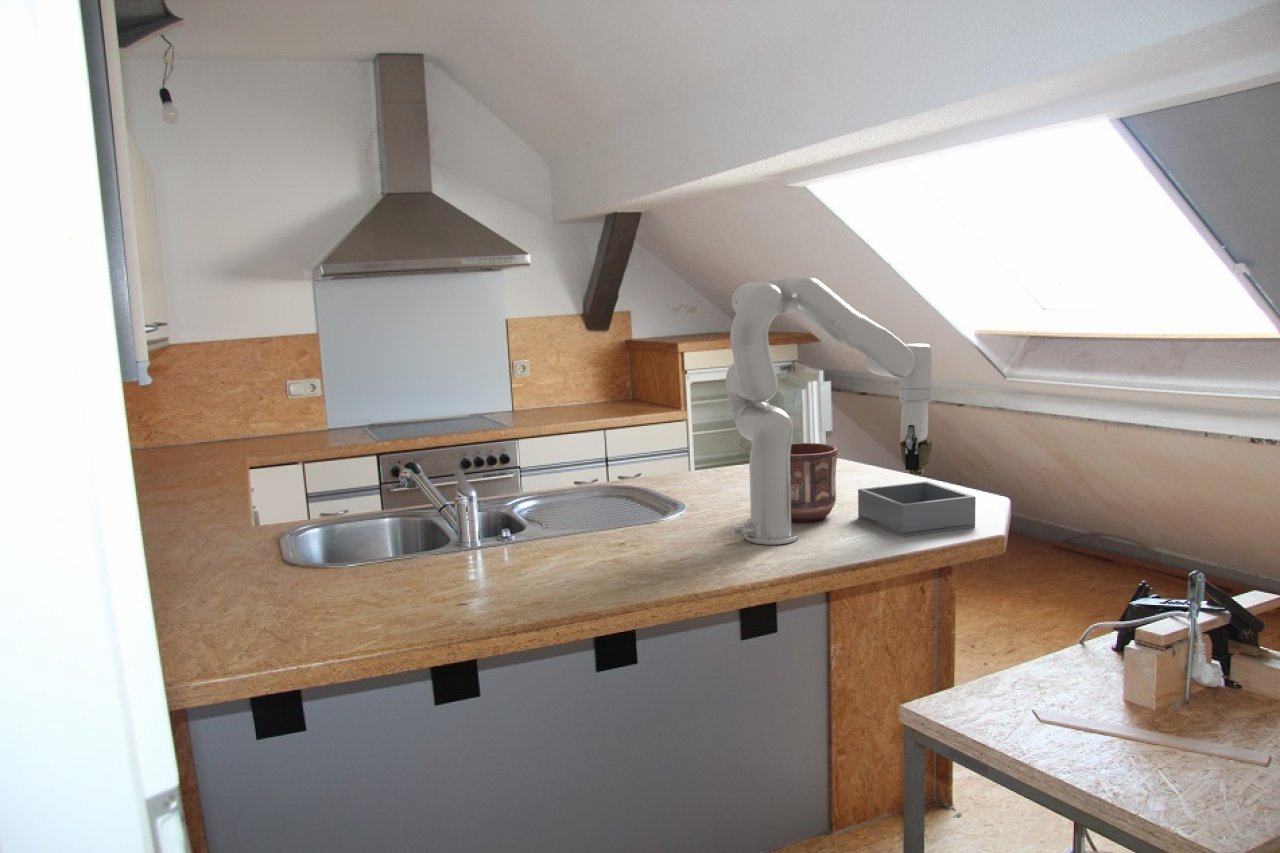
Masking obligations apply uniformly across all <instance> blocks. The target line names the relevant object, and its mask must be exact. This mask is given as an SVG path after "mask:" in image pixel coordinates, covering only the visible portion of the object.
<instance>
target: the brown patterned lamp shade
mask: <svg viewBox="0 0 1280 853" xmlns="http://www.w3.org/2000/svg"><path fill="white" fill-rule="evenodd" d="M899 443H900V452H901V453H900V454H901V460H902V462H903V465H905V454H906V441H905V442H901V441H899ZM932 445H933V441H932V440H930V441H929V443H928V440H927V439H925V441H924V442H923V443H922V442H920V443H919V447H918V454H919V470H918V471H914V470H907V472H908V473H909V474H910V475H913V476H914V475H921V474H923V473H924V472H925V471H924V467H926V466H927V465H928V464H929V462H930V459H931V452H932ZM914 446H915V445H914Z"/></svg>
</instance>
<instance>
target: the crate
mask: <svg viewBox="0 0 1280 853" xmlns="http://www.w3.org/2000/svg"><path fill="white" fill-rule="evenodd" d="M857 494H858V495H857V504H858V505H857V509H858V510H857V518H858V519H860V520H861V521H864V522H867V523H868V524H872V525H873V526H876V527H878V528H881V529H883V530H885V531H888V532H891V533H893V534H896V535H898V536H899V537H902V538H903V537H911V536H912V537H913V536H920V535H926V534H934V533H941V532H949V531H955V530H956V531H957V530H965V529H972V528H976V496H974V495H971V494H969V493H965V492H963V491H958V490H955V489H952V488H949V487H945V486H943V485H939V484H937V483H933V482H930V481H926V480H925V481H918V482H909V483H901V484H891V485H884V486H875V487H865V488H858V489H857Z"/></svg>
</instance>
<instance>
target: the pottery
mask: <svg viewBox="0 0 1280 853" xmlns="http://www.w3.org/2000/svg"><path fill="white" fill-rule="evenodd" d="M838 451H839V449H838V448H837V447H836V446H834V445H831V444H825V443H817V442H796V443H795V442H792V445H791V454H790V473H791V523H798V524H799V523H803V524H804V523H815V522H819V521H822V520H824V519H825V518H827V516H828V515H830V513H831V512H832V510H833V509H834V506H835V504H836V500H837V485H836V483H837V482H836V476H837V475H836V474H837V463H838V462H837V460H838Z"/></svg>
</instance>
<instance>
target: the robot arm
mask: <svg viewBox="0 0 1280 853" xmlns="http://www.w3.org/2000/svg"><path fill="white" fill-rule="evenodd" d="M731 301H732V302H731V304H732V308H733V310H734V312H735V313H736V314H735V315H734V318H733V321H732V323H731V328H730V333H729V334H730V336H729V338H730V345H731V350H732V357H733V361H734V362H733V363H732V364H731V365H730V366H729V367H728V369H727V372H726V375H725V388H726V393H727V396H728V402H729V404H730V405H729V406H730V409H731V412H732V416H733V420H734V423H735V427H736V429H737V431H738V432H739V434H740V435H741V437H743V438H745V439H746V440H748V441H749V442H750V441H751V448H750V454H749V455H750V456H749V463H748V464H749V466H748V468H749V502H750V503H749V505H750V518H747V519H746V522H744V523H743V524H735V525H733V524H732V525H731V527H730V528H731V529H730V530H731V533H732V534H740V533H741V535H744V540H746V541H748V542H749V543H753V544H756V545H757V544H758V545H767V546H771V545H775V546H777V545H786V544H790V543H793V542H795V541H797V540H798V539H799V533H798V531H796V530H794V529H792V522H791V473H790V454H791V445H792V443H793V437H794V436H793V435H794V425H793V421H792V419H791V417H790V415H789V414H788V413H787V412H786V411H785V410H783V409H782V408H780V407H778V406H775V405H771V404H770V403H769V400H772V399H773V397H774V396H775V395H776V393H777V391H778V386H779V385H778V384H779V383H778V376H777V372H776V370H775V366H774V362H773V358H772V352H771V349H770V343H769V342H770V341H769V330H770V326H771V324H772V322H773V321H774V319H775V318H776V316H781V315H789V314H799V315H801V316H803V317H804V318H805V319H806V320H808V321H809V322H810V323H812V324H813V325H814V326H815V327H816V328H818V329H819V330H820V331H822V333H823V334H825V335H826V336H828V337H829V338H830V339H831V340H833V341H834V342H836V343H838V344H840V345H842V346H845V347H848V348H851V349H853V350H856V351H858V352H860V353H862V354H864V365H865V368H866V369H867V370H868V371H869V372H870V373H872V374H874V375H876V376H881V377H888V378H895V379H899V402H901V403H902V404H901V413H900V414H901V417H900V442H903V443H904V442H905V441H906V454H905V464H904V466H905V467H904V468H905V470H906V471H908V470H914V471H918V470H919V454H918V447H919V443H920V442H922V443H923V442H924V441H925V440H926V439H927V437H928V435H929V434H928V433H929V406H928V405H929V404H928V402H929V403H930V402H932V401H933V400H932V399H933V398H932V395H933V393H932V392H933V379H932V378H933V364H932V363H933V352H932V350H933V349H932V347H931V346H930V344H927V343H918V342H917V343H915V342H914V343H906V344H905V343H904V342H903V341H902V340H900V339H899V338H898V337H897V336H896V335H894V334H893V333H892V332H891V331H889V330H888V329H886V328H885V327H883V326H881V325H880V324H878V323H876V322H874V321H873V320H871V319H869V317H867V316H865V315H864V314H861V313H860V312H858V311H857V310H855V308H853V307H852V306H850V304H848V303H847V302H845V300H843V299H842V298H841V297H840V296H839V295H837V294H836V293H835V292H833V291H832V290H831V289H830V288H829V287H828V286H826V285H825V284H824V283H823V282H821V281H820V280H818V279H817V278H814V277H810V276H799V277H798V276H796V277H795V276H794V277H789V278H783V279H775V280H766V281H764V280H763V281H756V282H748V283H744V284H742V285H740V286H739V287H737V288H736V289H735V291H734V293H733V294H732V299H731ZM914 445H915V446H914Z"/></svg>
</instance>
